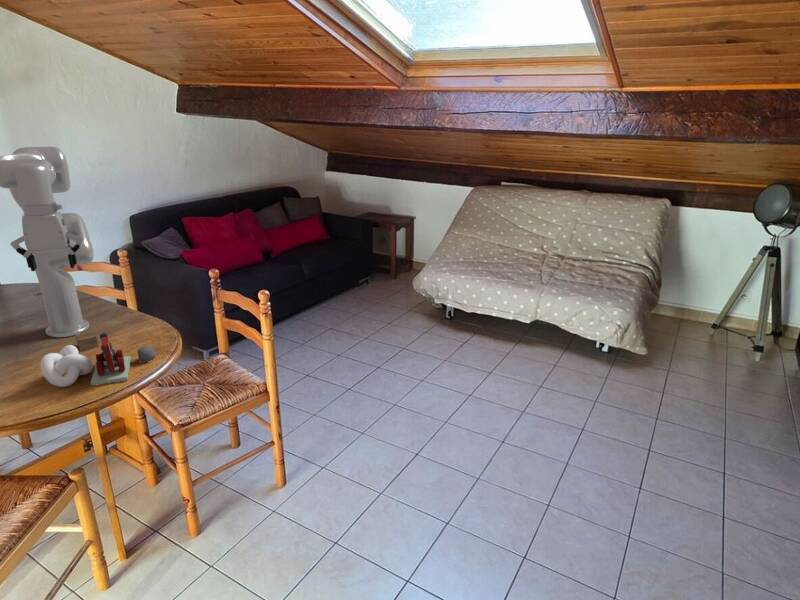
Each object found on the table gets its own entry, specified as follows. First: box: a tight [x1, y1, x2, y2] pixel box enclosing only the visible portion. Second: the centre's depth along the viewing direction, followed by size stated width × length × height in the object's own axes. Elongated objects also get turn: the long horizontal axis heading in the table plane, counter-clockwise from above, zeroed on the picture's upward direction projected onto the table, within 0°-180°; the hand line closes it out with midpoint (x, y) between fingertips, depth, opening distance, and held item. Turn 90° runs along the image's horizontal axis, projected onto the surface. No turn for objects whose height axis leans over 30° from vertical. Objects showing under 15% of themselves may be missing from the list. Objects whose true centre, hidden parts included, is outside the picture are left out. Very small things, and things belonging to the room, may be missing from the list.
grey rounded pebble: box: [136, 345, 156, 363], centre depth 156 cm, size 4×4×4 cm
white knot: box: [39, 344, 94, 388], centre depth 144 cm, size 11×12×9 cm
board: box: [90, 355, 132, 386], centre depth 149 cm, size 13×9×1 cm
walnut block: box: [74, 330, 99, 352], centre depth 163 cm, size 5×5×4 cm
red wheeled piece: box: [95, 332, 125, 376], centre depth 147 cm, size 7×12×10 cm, turn 30°
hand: (53, 268), depth 147 cm, fingers open, 9 cm apart
